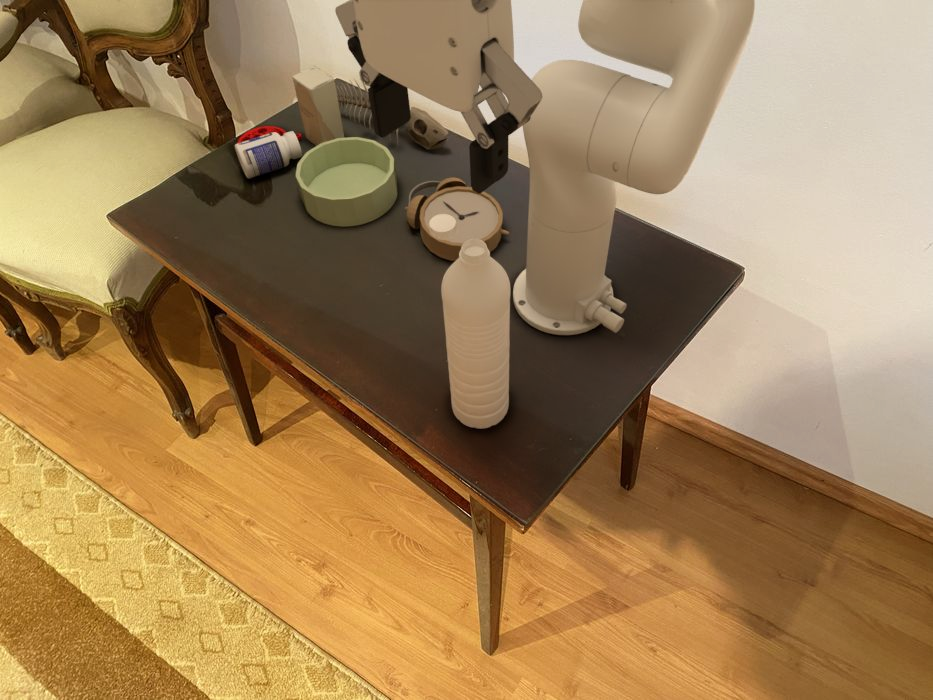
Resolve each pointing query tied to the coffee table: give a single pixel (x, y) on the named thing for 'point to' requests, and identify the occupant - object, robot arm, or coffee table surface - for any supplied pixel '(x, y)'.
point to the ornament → (257, 133)
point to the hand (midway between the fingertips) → (439, 154)
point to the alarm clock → (456, 216)
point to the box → (318, 105)
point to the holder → (347, 181)
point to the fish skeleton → (416, 126)
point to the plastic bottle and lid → (475, 330)
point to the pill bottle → (267, 153)
